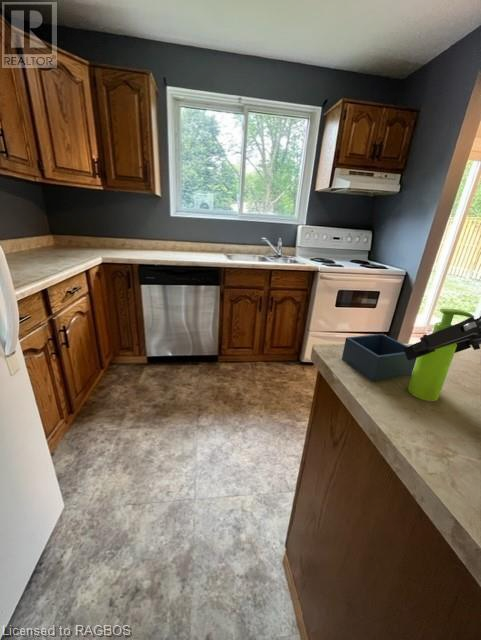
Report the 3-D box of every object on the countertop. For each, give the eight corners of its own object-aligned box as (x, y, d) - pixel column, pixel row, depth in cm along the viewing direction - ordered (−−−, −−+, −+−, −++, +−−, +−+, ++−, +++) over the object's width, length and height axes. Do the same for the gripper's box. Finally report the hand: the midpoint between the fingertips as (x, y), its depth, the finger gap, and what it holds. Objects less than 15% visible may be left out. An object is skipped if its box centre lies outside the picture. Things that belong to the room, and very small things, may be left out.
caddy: (377, 354, 80) (382, 333, 77) (411, 374, 69) (418, 351, 67) (341, 359, 76) (345, 337, 73) (372, 381, 65) (378, 357, 63)
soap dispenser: (447, 405, 58) (480, 317, 51) (410, 397, 60) (437, 311, 53) (439, 390, 63) (467, 308, 56) (405, 383, 65) (429, 304, 58)
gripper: (504, 333, 37) (390, 373, 57) (603, 326, 43) (467, 364, 63) (478, 287, 40) (378, 340, 60) (573, 285, 46) (452, 334, 66)
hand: (423, 352), depth 61 cm, fingers open, 9 cm apart
